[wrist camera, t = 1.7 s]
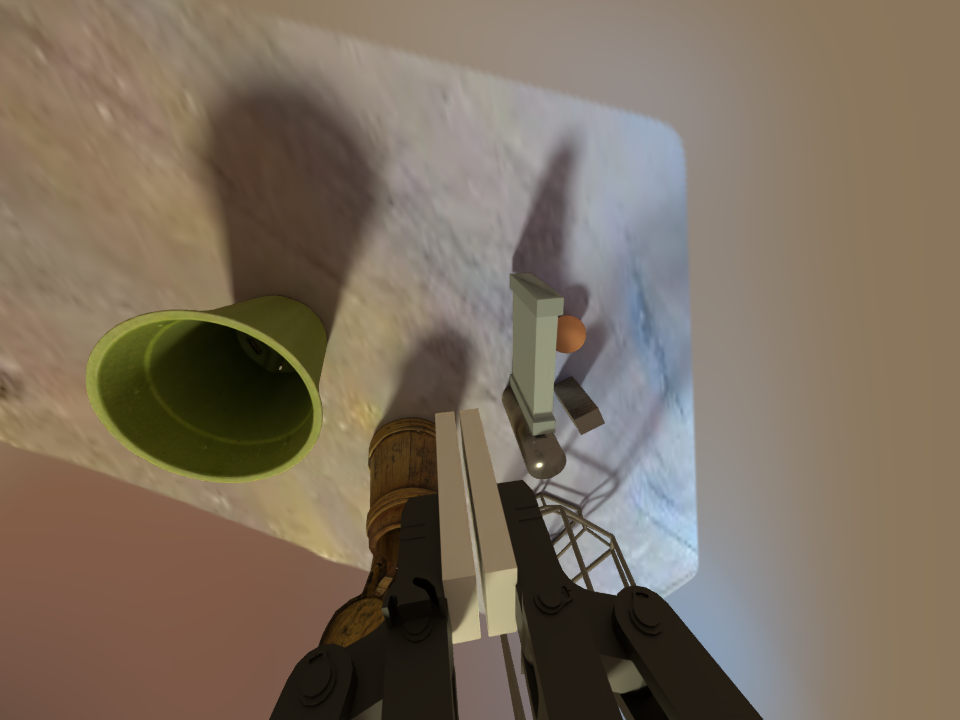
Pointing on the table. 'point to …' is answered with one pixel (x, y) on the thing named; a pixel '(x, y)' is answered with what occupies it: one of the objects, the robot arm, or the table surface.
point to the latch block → (578, 405)
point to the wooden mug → (387, 518)
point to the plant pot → (213, 388)
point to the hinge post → (533, 442)
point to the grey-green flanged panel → (534, 349)
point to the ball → (569, 334)
